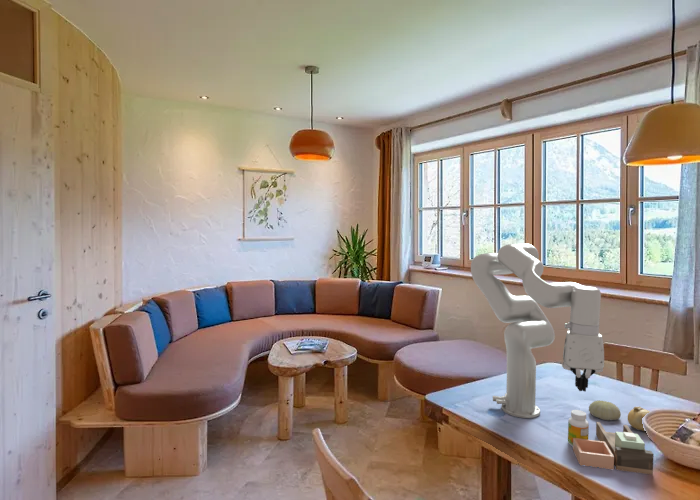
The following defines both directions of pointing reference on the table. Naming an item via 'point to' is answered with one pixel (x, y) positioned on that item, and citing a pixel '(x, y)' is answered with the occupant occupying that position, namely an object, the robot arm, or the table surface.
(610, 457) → the holder
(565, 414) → the table surface
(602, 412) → the sea urchin shell
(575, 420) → the supplement bottle
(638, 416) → the onion
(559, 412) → the table surface
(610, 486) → the table surface
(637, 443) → the block
